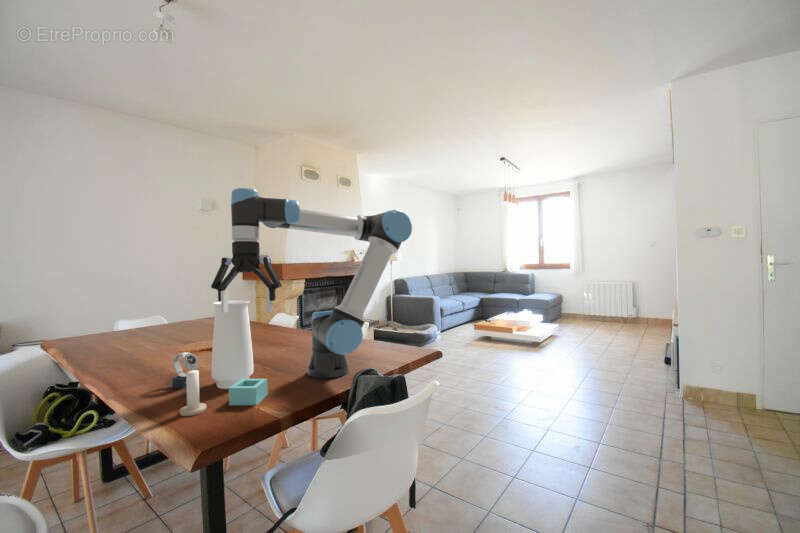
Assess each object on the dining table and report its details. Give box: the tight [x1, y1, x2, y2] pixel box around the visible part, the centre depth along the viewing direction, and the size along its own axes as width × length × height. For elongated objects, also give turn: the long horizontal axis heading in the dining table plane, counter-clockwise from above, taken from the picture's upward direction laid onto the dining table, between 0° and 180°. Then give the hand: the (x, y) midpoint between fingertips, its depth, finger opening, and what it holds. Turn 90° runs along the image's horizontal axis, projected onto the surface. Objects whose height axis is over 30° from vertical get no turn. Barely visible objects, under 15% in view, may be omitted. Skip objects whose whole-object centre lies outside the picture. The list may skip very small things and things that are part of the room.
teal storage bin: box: [228, 378, 269, 406], centre depth 104 cm, size 8×8×5 cm
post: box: [179, 369, 207, 417], centre depth 97 cm, size 6×6×11 cm
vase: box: [210, 299, 255, 390], centre depth 118 cm, size 13×13×28 cm
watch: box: [172, 351, 199, 389], centre depth 118 cm, size 6×8×11 cm
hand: (247, 312), depth 104 cm, fingers open, 13 cm apart
